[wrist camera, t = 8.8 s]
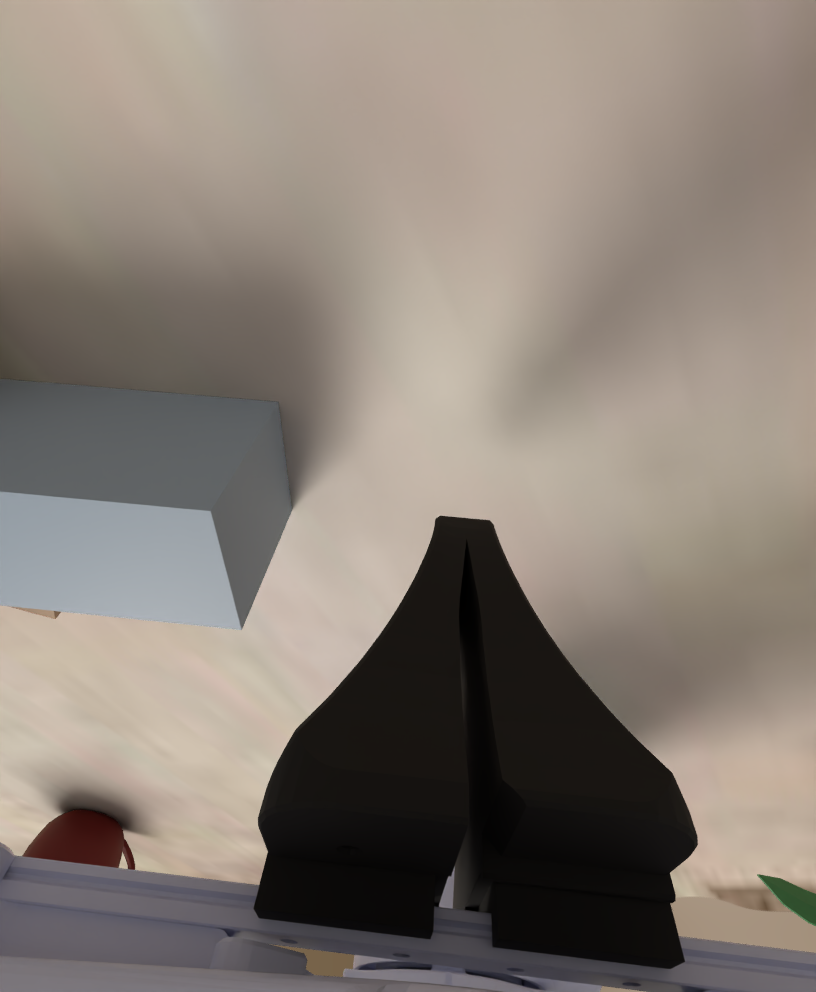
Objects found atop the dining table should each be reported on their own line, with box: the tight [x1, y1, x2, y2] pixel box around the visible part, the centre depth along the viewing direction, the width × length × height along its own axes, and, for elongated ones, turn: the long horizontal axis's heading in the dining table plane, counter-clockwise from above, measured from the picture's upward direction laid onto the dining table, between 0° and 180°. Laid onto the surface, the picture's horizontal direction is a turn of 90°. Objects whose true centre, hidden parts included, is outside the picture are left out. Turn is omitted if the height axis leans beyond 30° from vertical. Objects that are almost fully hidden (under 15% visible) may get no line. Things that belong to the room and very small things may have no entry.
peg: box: [0, 379, 292, 630], centre depth 14 cm, size 10×4×5 cm, turn 88°
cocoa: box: [23, 809, 135, 870], centre depth 32 cm, size 10×6×12 cm, turn 20°
